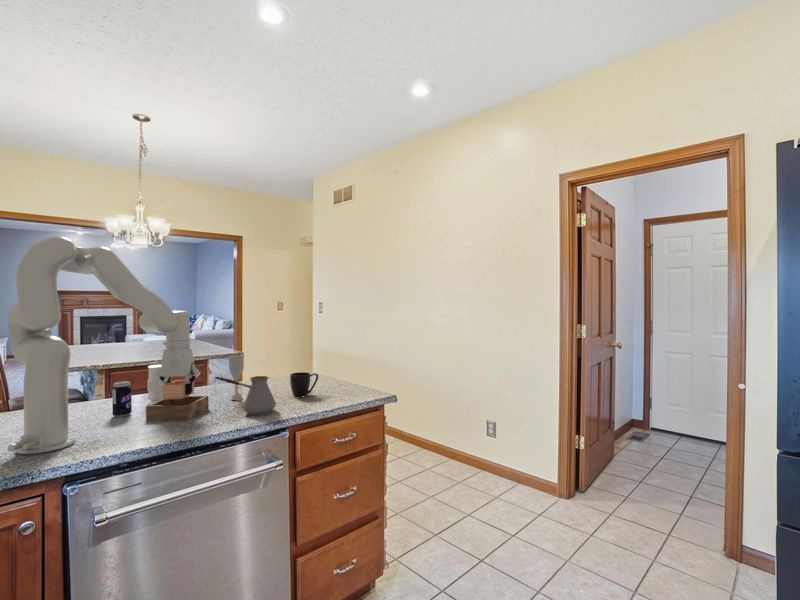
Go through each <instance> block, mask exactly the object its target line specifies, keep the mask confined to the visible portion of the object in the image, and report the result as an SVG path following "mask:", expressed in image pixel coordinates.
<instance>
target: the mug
mask: <svg viewBox="0 0 800 600" xmlns="http://www.w3.org/2000/svg"><path fill="white" fill-rule="evenodd" d="M312 376H315V380H314V381H313V384H312V385H311V387H310V382H311V377H312ZM289 378H290V379H289V380H290V381H289V383H290V388H291V392H292V395H293V397H294V396H295V397H294V398H296V397H301V398H303V397H302V396H306V395H307V396H308V395H310V394H311V392H312V391H313V389H314V388H315V386H316V384H317V381H318V379H319V375H318V373H311V374H310V372H306V371H305V372H293V373H290V377H289ZM307 396H306V397H307Z"/></svg>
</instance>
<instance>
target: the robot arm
mask: <svg viewBox="0 0 800 600" xmlns="http://www.w3.org/2000/svg"><path fill="white" fill-rule="evenodd" d="M60 271H62V272H67V273H75V274H81V275H82V274H83V275H93V276H95V278H96V279H97V280H98V281H99V282H100V283H101V284H102V285H103V286H104V287H105V288H106V290H107V291H108V292H109V293H110V294H111V295H112V296H113V297H114V298H115V299H117V300H118V301H121V302H122V303H124V304H127V305H130V306H132V307H133V308H134V309H136V310H138V311H140V312H141V313H142V314H141V315H140V317H139V319H138V325H139V327H140V329H142V330H143V331H144V332H147V333H155V334H157V333H158V334H159V333H161V334H165V341H163V342H162V345H163V346H165V349H163V352H162V355H161V364H160V365H161V369H160V370H159V371H157V372H156V375H157V376H158V377H159V378H160V379H161V380H162V381H163V384H167V383H170V382H172V379H173V378H184V380H186V382H187V384H185V394H186V395H188V394H191V393H192V382H194V383H195V381H196V379H197V378H198V377H199V376H200V375H201V373H202V371H200V370H199V369H198V368H197V367H196V366H195V360H194V353H193V350H192V349H193V348H192V347H190V346H191V345H190V344H191V343H190V341H191V340H190V339H191V336H190V335H191V334H190V329H191V328H190V326H191V325H190V324H191V323H190V313H189V312H188V311H187V310H172V309H171V308H170V306H169V305H168V304H167V303H166V302H165V300H163V299H162V298H161V297H160V296H159V295H158V294H156V293H155V292H154V291H153V290H151V289H149V288H148V287H147V286H145V284H143V283H141V282H140V280H139V279H138V278H136V276H135V275H134V274H133V273H132V272H131V271H130V269H129V268H128V267H127V266H126V264H124V262H123V261H122V260H121V259H120V258H119V256H118V255H117V254H116V253H115V252H114V251H113V250H111V248H108V247H105V246H94V247H93V246H92V247H81V246H76V245H75V243H74V242H73V241H72V240H71V239H69V238H67V237H64V236H56V235H55V236H54V235H53V236H49V237H48V236H47V237H45V238H42V239H38V240H37V239H36V240H34V241H33V242H31V243H30V245H29V246H28V247H27V251H26V253H25V254H23V256H22V258H21V259H20V261H19V263H18V265H17V268H16V273H15V274H16V275H15V278H16V279H15V283H16V294H17V295H16V297H17V301H15V302H14V303H13V304H12V305H11V306H10V307H9V309H8V312H7V325H8V327H7V328H8V333H9V340H10V347H11V351H12V355H13V357H14V359H15V360H16V361H17V362H18V363H19V364H21V365H22V366H25V371H24V377H23V435H21V436H20V440H18V442H14V443H11V444H9V445H8V446H7V451H8V452H10V453H12V452H15V451H16V453H17V454H20V455H36V453H37V454H43V452H44V453H49V452H53V450H54V451H57V449H58V450H61V449H63V448H68V446H71V445H73V444H74V443H75V442H76V437H75V436H74V435H70V434H69V389H68V388H69V386H68V385H69V381H68V380H69V379H68V378H69V368H70V362H71V349H70V346H69V344H68V343H67V342H66V341H65V340H63V339H62V338H61V337H58V336H54V335H53V332H52V329H54V328H56V326H57V325H59V323H60V322H61V319H62V313H61V306H60V301H59V299H60V298H59V295H58V284H57V278H58V275H59V272H60ZM191 395H192V394H191Z"/></svg>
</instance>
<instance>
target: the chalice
mask: <svg viewBox="0 0 800 600" xmlns="http://www.w3.org/2000/svg"><path fill="white" fill-rule="evenodd" d="M245 357H246V355H242V354H236V355H235V354H234V355H229V356H227V359H228V370H229V373H230V374H231V375H230V376H231V377H232V379H234V381H236V382H239V381H238V380H239V379H240V378H241V376H242V374H243V371H244V369H245V359H244V358H245ZM238 390H239V385H236V384H234V393H232V394H231V397H230V401H231V400H239V401H242V400H244V398H243V395H242V394H241V393H240V392H239V391H238ZM241 399H242V400H241Z"/></svg>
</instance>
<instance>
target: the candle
mask: <svg viewBox="0 0 800 600" xmlns="http://www.w3.org/2000/svg"><path fill="white" fill-rule="evenodd" d="M147 368H148V379H147V392H148V395H147V399H148V401H149V405H150V404H152V403H155V402H157V401H160V400H162V399H163V397H162V385H164V384H163V381H162V380H161V379H160V378H159V377H158V376H157V375H156V372H157V371H159V370H160V369H161V364H153V365H148V366H147Z"/></svg>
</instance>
